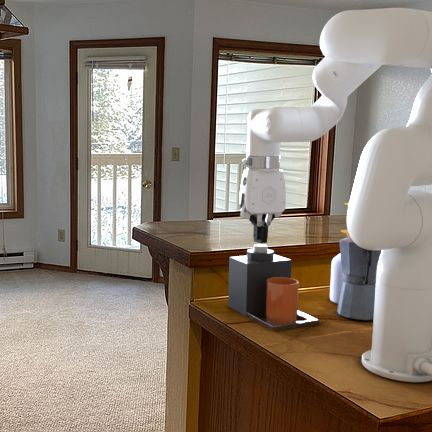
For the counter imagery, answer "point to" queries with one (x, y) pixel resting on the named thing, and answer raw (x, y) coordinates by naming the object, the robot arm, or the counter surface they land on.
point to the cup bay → (274, 326)
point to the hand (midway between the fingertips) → (260, 242)
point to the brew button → (260, 248)
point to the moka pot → (357, 280)
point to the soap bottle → (337, 275)
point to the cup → (282, 299)
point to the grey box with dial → (254, 279)
